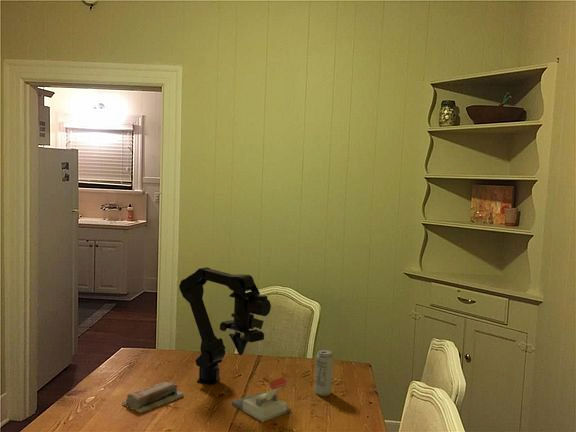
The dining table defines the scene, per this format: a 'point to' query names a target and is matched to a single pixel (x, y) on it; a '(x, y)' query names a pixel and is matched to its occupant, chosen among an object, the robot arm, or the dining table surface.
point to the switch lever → (274, 388)
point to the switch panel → (262, 406)
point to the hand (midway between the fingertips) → (240, 354)
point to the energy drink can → (324, 372)
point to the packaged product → (153, 396)
